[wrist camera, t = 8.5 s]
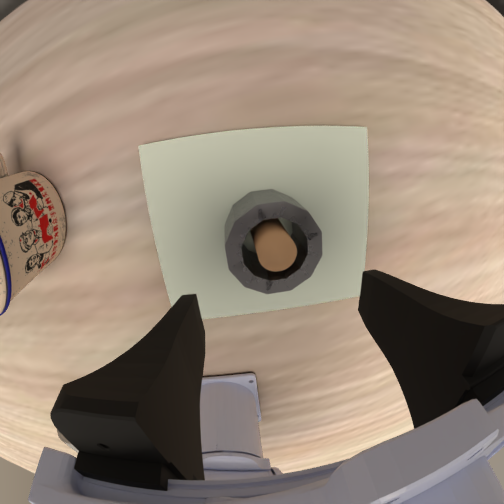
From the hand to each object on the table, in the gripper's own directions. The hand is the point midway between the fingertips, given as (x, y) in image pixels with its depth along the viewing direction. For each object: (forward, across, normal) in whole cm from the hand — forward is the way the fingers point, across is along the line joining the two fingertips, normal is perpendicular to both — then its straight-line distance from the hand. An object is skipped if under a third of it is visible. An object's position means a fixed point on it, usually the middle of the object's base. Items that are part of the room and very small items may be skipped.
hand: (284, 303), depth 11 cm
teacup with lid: (+10, +20, -5) cm, 23 cm away
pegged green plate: (+10, 0, 0) cm, 10 cm away
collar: (+9, 0, 0) cm, 9 cm away
